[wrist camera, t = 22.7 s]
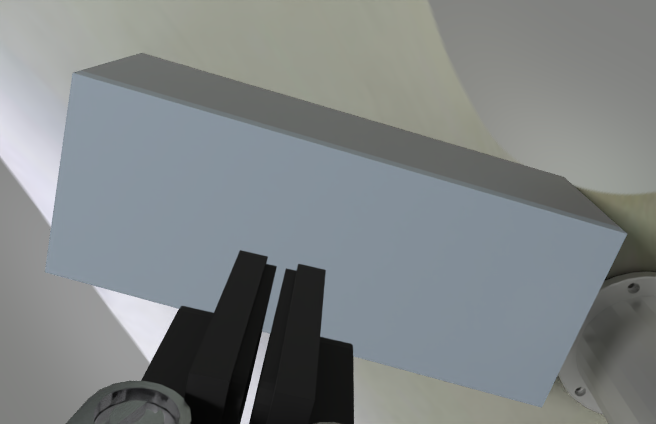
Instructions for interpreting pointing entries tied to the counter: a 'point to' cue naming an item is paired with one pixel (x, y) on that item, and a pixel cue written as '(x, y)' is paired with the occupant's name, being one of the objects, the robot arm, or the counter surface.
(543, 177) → the grey bridge shelf
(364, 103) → the counter surface
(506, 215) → the cover
